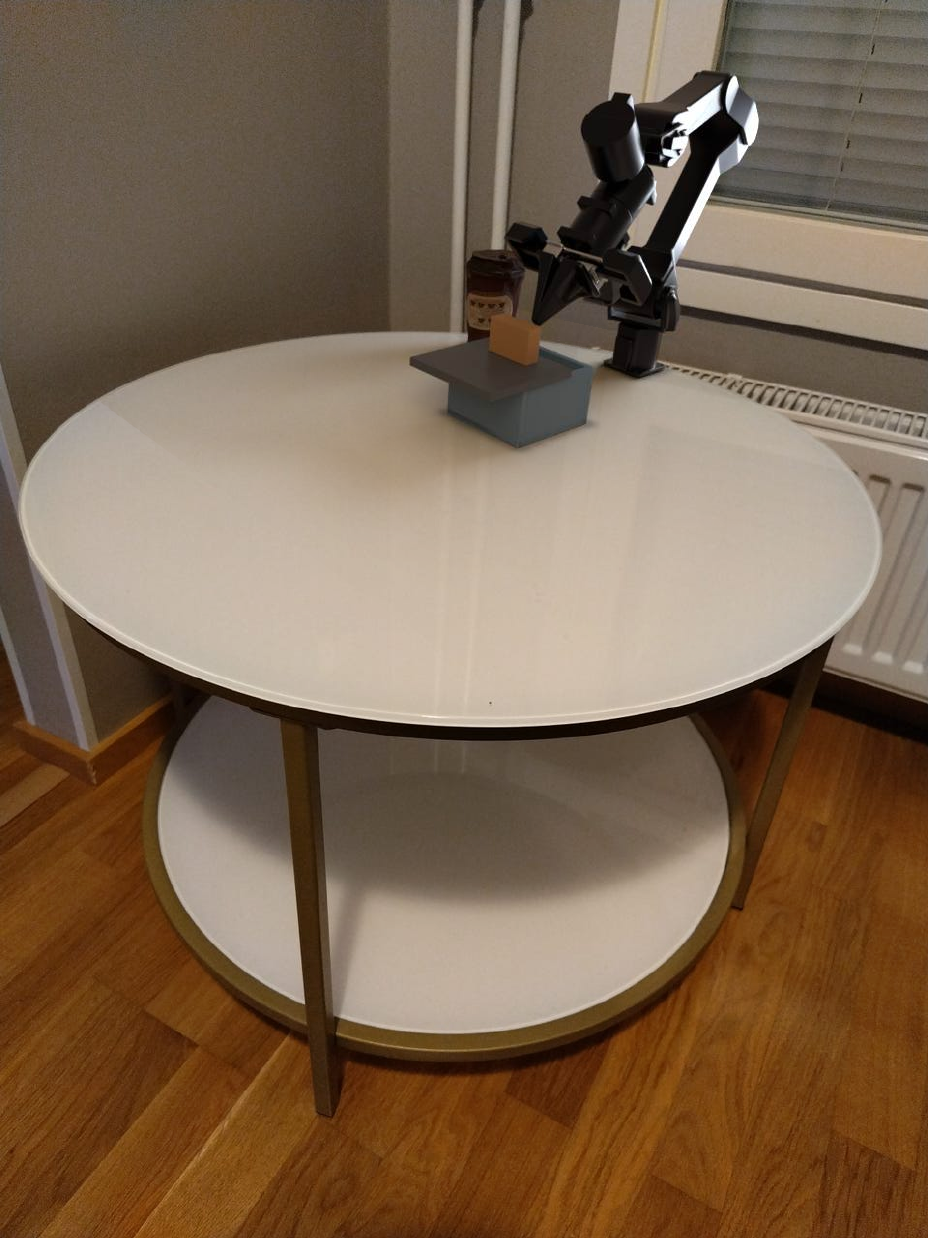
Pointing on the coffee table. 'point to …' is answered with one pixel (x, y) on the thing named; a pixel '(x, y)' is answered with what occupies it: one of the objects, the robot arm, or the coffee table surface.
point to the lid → (495, 361)
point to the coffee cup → (491, 289)
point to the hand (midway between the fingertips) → (535, 323)
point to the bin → (529, 406)
